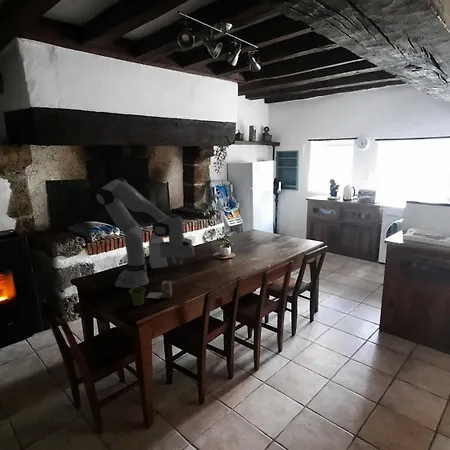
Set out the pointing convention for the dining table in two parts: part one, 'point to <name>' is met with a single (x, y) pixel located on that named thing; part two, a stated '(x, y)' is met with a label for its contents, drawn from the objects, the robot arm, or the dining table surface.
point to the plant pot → (137, 295)
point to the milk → (156, 252)
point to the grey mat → (154, 295)
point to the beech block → (167, 289)
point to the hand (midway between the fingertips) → (178, 263)
